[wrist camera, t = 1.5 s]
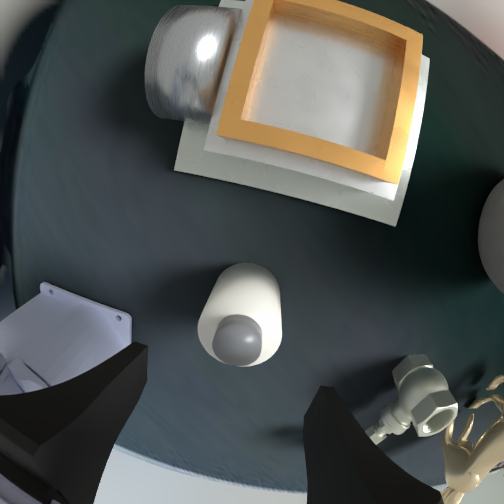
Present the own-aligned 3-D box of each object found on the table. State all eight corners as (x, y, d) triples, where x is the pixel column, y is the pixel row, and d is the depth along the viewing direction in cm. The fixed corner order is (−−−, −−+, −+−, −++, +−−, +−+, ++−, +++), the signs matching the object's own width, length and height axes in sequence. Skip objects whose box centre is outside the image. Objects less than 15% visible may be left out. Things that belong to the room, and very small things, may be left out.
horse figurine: (418, 459, 25) (448, 559, 9) (398, 458, 25) (427, 568, 9) (523, 340, 20) (604, 432, 3) (511, 331, 19) (601, 434, 3)
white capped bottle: (209, 313, 20) (187, 368, 14) (221, 255, 19) (198, 297, 13) (270, 327, 20) (269, 387, 14) (287, 271, 19) (294, 320, 13)
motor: (170, 168, 17) (117, 173, 11) (216, 4, 14) (192, -54, 7) (391, 224, 17) (444, 256, 11) (424, 61, 14) (479, 31, 7)
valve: (404, 336, 20) (310, 425, 23) (438, 390, 14) (315, 482, 17) (444, 364, 21) (357, 441, 24) (475, 411, 14) (368, 490, 18)
